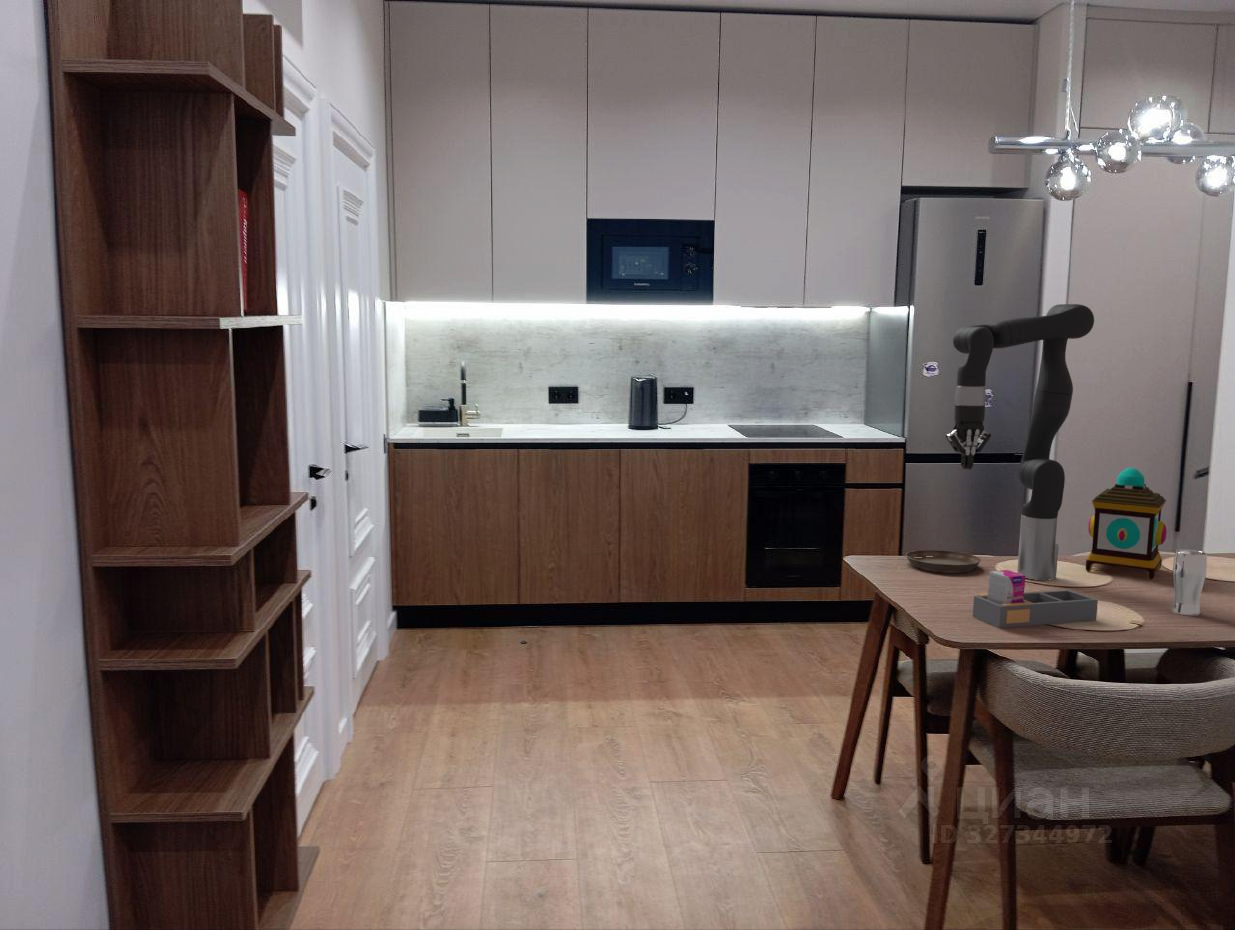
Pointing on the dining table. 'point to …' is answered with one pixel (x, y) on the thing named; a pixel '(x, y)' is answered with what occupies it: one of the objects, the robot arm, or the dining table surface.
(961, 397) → the robot arm
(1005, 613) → the rack
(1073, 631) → the dining table surface
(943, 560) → the plant saucer
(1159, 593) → the dining table surface
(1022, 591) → the supplement box
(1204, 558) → the beer glass
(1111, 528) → the decorative lantern
